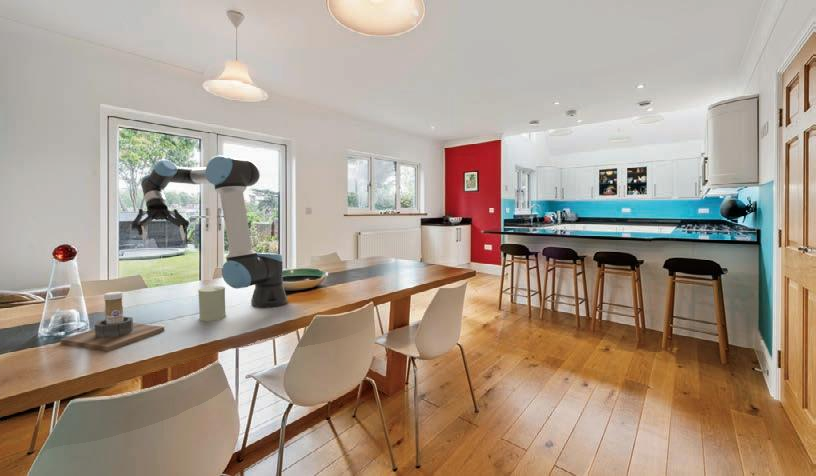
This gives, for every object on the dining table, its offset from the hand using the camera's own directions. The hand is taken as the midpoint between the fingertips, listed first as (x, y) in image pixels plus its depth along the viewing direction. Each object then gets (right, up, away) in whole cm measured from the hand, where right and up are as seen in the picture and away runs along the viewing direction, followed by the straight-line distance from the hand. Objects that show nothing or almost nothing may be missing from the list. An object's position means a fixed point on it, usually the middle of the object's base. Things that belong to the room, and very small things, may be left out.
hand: (165, 239), depth 144 cm
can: (+25, -31, -9) cm, 41 cm away
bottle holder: (+5, -33, -31) cm, 45 cm away
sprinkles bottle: (+5, -31, -31) cm, 44 cm away
